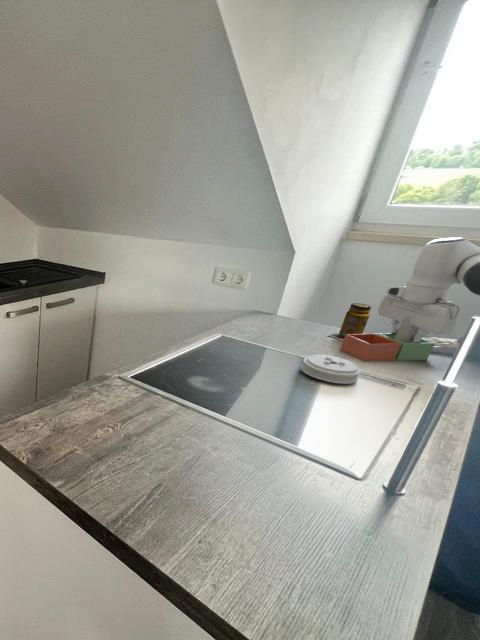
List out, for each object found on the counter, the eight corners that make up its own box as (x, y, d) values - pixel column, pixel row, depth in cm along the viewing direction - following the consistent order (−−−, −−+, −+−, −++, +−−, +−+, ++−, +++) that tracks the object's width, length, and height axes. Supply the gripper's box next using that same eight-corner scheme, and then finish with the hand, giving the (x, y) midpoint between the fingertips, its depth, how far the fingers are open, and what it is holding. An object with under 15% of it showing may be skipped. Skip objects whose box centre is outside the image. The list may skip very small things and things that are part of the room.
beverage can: (404, 350, 124) (420, 314, 119) (413, 356, 120) (430, 319, 115) (386, 349, 125) (400, 313, 120) (394, 354, 121) (410, 318, 116)
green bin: (398, 348, 127) (405, 332, 125) (427, 360, 119) (435, 343, 116) (370, 349, 127) (377, 333, 125) (396, 360, 119) (404, 343, 116)
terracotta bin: (368, 349, 127) (374, 333, 125) (394, 360, 119) (401, 343, 116) (339, 349, 127) (345, 333, 125) (363, 361, 119) (370, 344, 116)
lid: (320, 364, 118) (325, 349, 116) (367, 382, 107) (374, 365, 104) (289, 370, 114) (294, 355, 112) (334, 389, 103) (341, 373, 101)
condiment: (367, 340, 134) (380, 306, 129) (347, 342, 132) (359, 308, 128) (345, 333, 141) (357, 301, 136) (326, 335, 139) (337, 303, 134)
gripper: (473, 303, 105) (450, 350, 111) (402, 286, 124) (385, 327, 130) (450, 304, 105) (428, 351, 111) (382, 286, 124) (366, 327, 130)
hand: (404, 338), depth 121 cm, fingers closed on beverage can, 5 cm apart
